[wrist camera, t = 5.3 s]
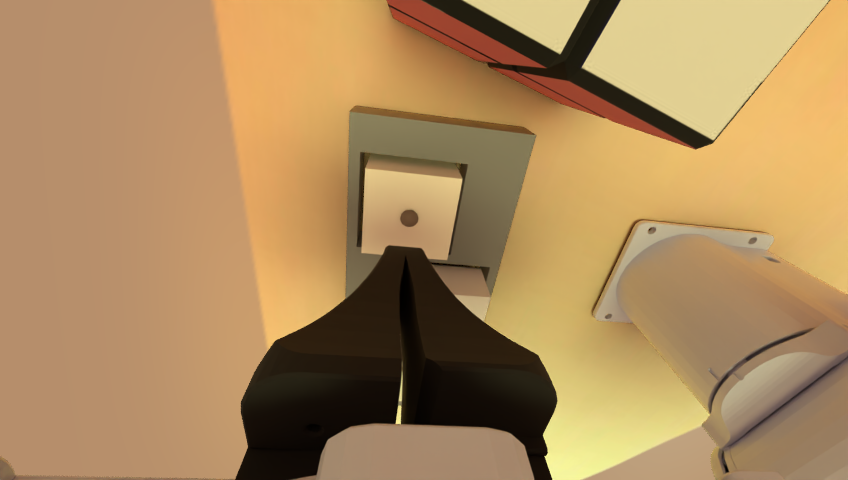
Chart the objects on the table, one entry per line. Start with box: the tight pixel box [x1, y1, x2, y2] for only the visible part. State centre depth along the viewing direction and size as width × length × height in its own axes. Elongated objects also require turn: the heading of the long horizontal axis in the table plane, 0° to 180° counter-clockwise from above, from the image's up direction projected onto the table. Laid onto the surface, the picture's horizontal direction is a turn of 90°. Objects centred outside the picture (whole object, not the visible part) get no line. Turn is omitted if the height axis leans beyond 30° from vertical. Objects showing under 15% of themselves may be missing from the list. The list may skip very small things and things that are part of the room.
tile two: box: [400, 264, 491, 341], centre depth 20 cm, size 5×5×3 cm
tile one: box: [361, 153, 462, 260], centre depth 18 cm, size 5×5×3 cm
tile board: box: [346, 106, 536, 405], centre depth 22 cm, size 9×21×2 cm, turn 173°
